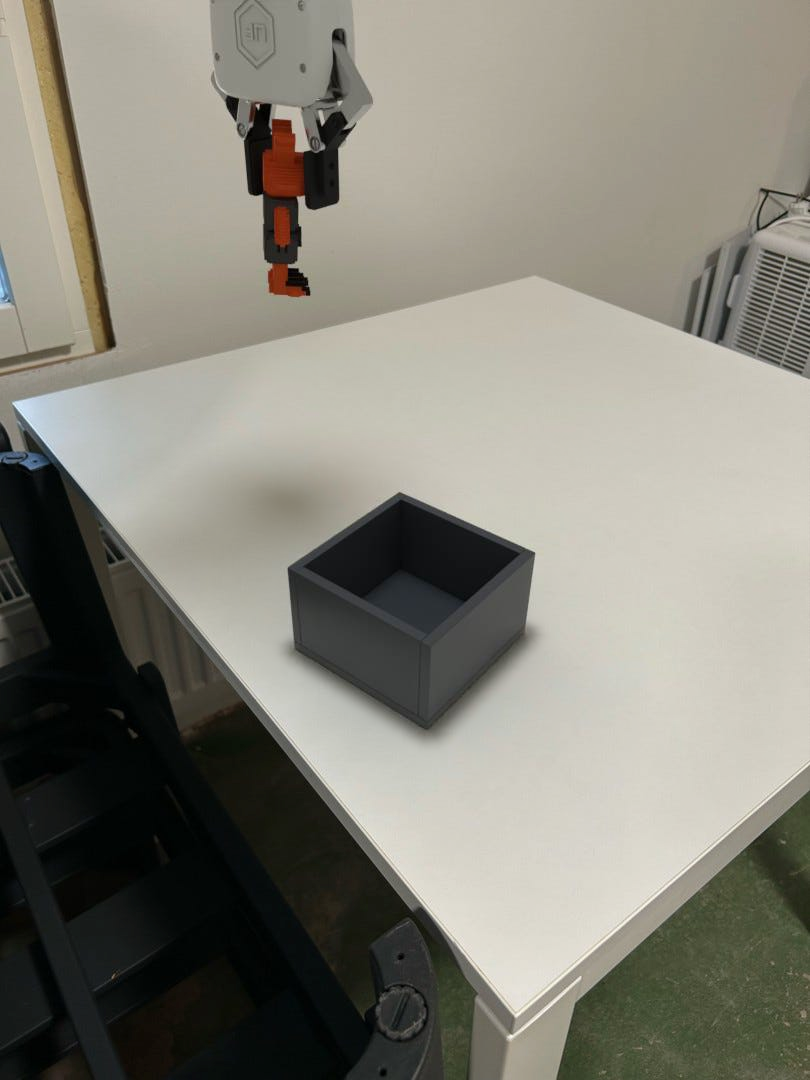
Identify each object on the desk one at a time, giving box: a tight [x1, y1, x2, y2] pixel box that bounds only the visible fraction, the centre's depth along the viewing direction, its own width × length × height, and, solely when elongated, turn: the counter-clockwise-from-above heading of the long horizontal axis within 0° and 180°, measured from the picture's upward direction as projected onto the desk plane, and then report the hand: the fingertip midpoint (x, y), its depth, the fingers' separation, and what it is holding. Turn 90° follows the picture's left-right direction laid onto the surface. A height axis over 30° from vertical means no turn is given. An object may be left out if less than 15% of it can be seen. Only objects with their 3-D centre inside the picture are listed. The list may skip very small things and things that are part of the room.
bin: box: [286, 491, 536, 730], centre depth 61 cm, size 13×13×8 cm
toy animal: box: [262, 118, 311, 298], centre depth 64 cm, size 8×6×12 cm
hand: (293, 196), depth 64 cm, fingers closed on toy animal, 5 cm apart
